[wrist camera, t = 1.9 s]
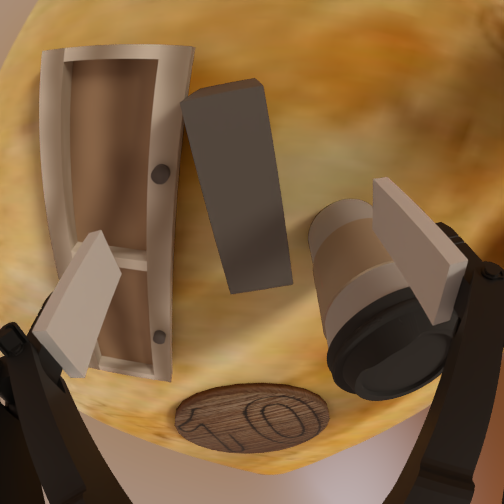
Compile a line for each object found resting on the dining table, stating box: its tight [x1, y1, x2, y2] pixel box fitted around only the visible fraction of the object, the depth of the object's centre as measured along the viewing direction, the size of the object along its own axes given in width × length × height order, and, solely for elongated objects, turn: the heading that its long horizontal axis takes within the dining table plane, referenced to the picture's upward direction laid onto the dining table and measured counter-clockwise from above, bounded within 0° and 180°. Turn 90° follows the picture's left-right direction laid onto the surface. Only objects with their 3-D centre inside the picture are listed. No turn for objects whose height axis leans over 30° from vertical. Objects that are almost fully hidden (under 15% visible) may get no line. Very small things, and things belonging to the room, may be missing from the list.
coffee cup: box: [308, 199, 458, 401], centre depth 21 cm, size 9×9×15 cm
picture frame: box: [180, 78, 293, 294], centre depth 20 cm, size 4×12×8 cm, turn 10°
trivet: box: [175, 383, 330, 453], centre depth 46 cm, size 25×25×2 cm
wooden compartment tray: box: [39, 44, 195, 382], centre depth 25 cm, size 11×34×4 cm, turn 170°
